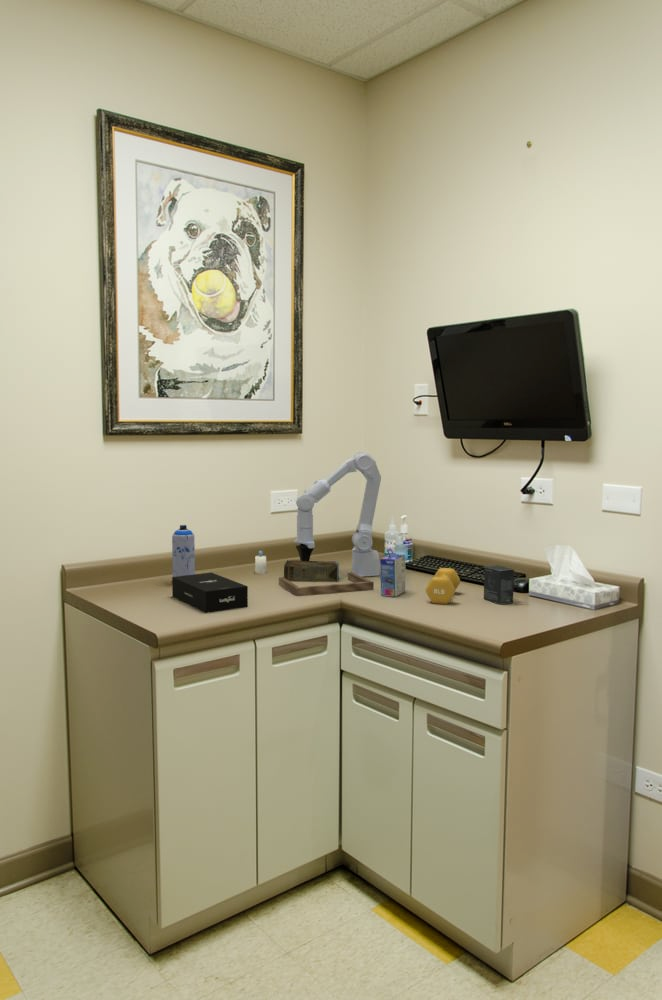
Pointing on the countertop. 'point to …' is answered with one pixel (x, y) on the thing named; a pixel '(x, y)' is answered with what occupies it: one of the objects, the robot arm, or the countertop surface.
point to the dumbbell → (443, 586)
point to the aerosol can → (183, 552)
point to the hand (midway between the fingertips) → (304, 565)
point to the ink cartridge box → (392, 574)
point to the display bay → (329, 586)
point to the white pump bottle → (260, 563)
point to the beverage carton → (311, 571)
